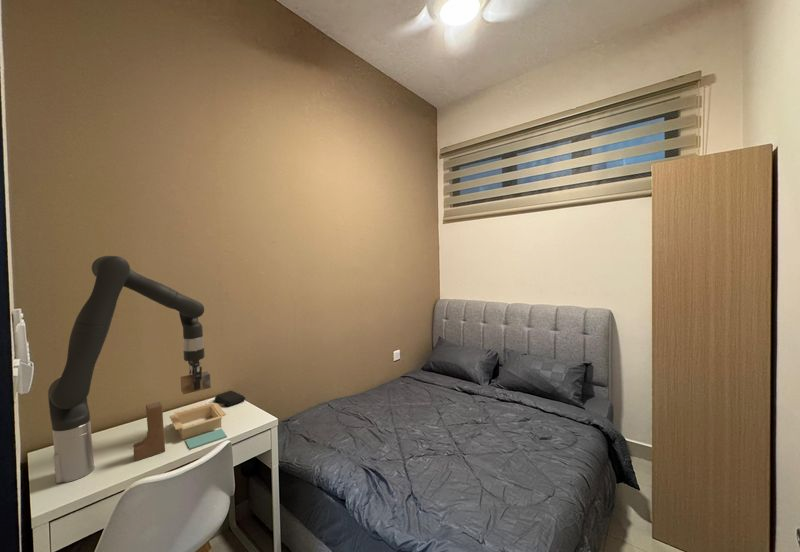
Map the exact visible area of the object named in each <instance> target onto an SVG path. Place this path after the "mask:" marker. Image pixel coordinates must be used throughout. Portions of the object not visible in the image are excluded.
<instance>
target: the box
mask: <svg viewBox="0 0 800 552" xmlns="http://www.w3.org/2000/svg"><path fill="white" fill-rule="evenodd" d="M197 377H199V376H196V378H197ZM179 379H180V391H181V393H182V394H183V395H186V394H191V393H196V392H199V391H203V390H207V389H211V374H210V373H209V372H208V371H202V380H200V387H201V388H200V389H198V390H195V389H194V381H193V376H192V375H190V374H189V375H187V374H186V375H182V376H180V378H179Z"/></svg>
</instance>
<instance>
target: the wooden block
mask: <svg viewBox="0 0 800 552" xmlns="http://www.w3.org/2000/svg"><path fill="white" fill-rule="evenodd" d="M145 410H146V425H147V426H146V427H147V432H146V433H147V434H146V436H145V437H144V438H143V440H141V441H138V442H137V443H134V444H133V449H132V450H133V457H134V461H135V462H138V461H140V459H141V460H143V458H144V459H146V458H149V457H152V456H154V455H159V454H162V453H165V451H166V444H165V430H164V428H165V427H164V416H163V415H164V413H163V412H164V411H163V405H162V403H161V401H156V402H153V403H149V404H146V405H145ZM137 460H138V461H137Z"/></svg>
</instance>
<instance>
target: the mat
mask: <svg viewBox="0 0 800 552" xmlns="http://www.w3.org/2000/svg"><path fill="white" fill-rule="evenodd" d="M225 438H226V439H227V438H228V435H227V434H226V433H225V431H224V430H223V429H222V428H217V429H214V430H211V431H208V432H205V433H202V434H199V435H195V436H192V437H189V438H186V439H185V443H186V445H187V447H189V448H188V449H190V450H193V449H196V448H200V447H203V446H204V445H208V444H211V443H213V442H216V441H220V440H223V439H225Z"/></svg>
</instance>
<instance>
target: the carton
mask: <svg viewBox="0 0 800 552" xmlns="http://www.w3.org/2000/svg"><path fill="white" fill-rule="evenodd" d="M225 416H227V414H226V412H225V411H224V410H223V409H222V408H221V406H220V405H219V403H218V402H216V403H211V402H209V403H205V404H201V405H199V406H198V405H197V406H195V407H190V408H188V409H187V408H186V409H184V410H180V411H179V410H178V411H176V412H174V414H171V415H169V418H170V420H171V422H172V425H173V427H174V430H175V431H178V434H179V435H180V437H181V439H182V440H184V439H185V440H186V439H189V438H193V437H196V436H199V435H202V434H205V433H208V432H212V431H215V430H218V429H221V428H222V419H223V417H225ZM208 417H212V418H209V419H205V420H202V421H199V422H196V423H192V424H189V425H186V426H183V425H184V424H187V423H190V422H194V421H198V420H200V419H203V418H208Z"/></svg>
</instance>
